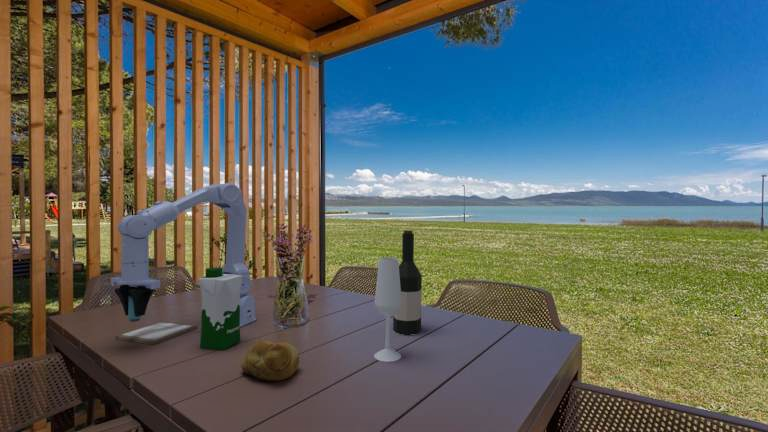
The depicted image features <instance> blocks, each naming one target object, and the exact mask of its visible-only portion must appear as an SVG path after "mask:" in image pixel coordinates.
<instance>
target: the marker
mask: <svg viewBox="0 0 768 432" xmlns="http://www.w3.org/2000/svg"><path fill="white" fill-rule="evenodd" d="M127 316H128V317H127V318H128V320H129V322H130V323H136V322H139V321H141V319H142V317H143V315H142V316H138V317H135V314H134V304H133V299H132V296H131V295H129V296H128V315H127Z"/></svg>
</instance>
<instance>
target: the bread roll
mask: <svg viewBox="0 0 768 432" xmlns="http://www.w3.org/2000/svg"><path fill="white" fill-rule="evenodd" d="M299 365H300V354H299V352H298V350H297V348H296V347H295V346H293V345H292V344H290V343H289V342H287V341H280V342H279V341H278V342H275V343H274V342H273V341H270V340H261V341H258V342H256V343H255V344H253V345H251V347H250V348H249V350H248V351H247V353H246V355H245V356H243V357H242V359H241V362H240V366H241V367H240V368H241V369H242V372H244V373H245V374H247V375H251V376H254V378H256V379H260V380H262V381H266V382H278V381H279V382H280V381H283V380H286V379H288V378H290V377H291V376H292V375H294V373H296V371H297V370H298V369H299Z"/></svg>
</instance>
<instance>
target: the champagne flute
mask: <svg viewBox="0 0 768 432" xmlns="http://www.w3.org/2000/svg"><path fill="white" fill-rule="evenodd" d="M377 264H378V266H377V273H376V274H377V275H376V286H375V294H374V306H375V308H376V309H377V311H378V312H379V313H380V314H381V315H382V316H384V317H385V335H384V337H385V345H384V347H385V348H383V349H381V350H379V351H378V352H375V353H374V355H373V357H374V358H375V360H377V361H380V362H386V363H387V362H389V363H390V362H395V361H399V360H400V359H401V358H402V355H401V354H400V352H397V351H396V350H394V349H392V348H391V317H393V315H394V314H395V313H396V312H397V311H398V310H399V309H400V307H401V305H402V300H401V287H400V275H399V266H400V264H399V258H397V257H380V258H378V263H377Z"/></svg>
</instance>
